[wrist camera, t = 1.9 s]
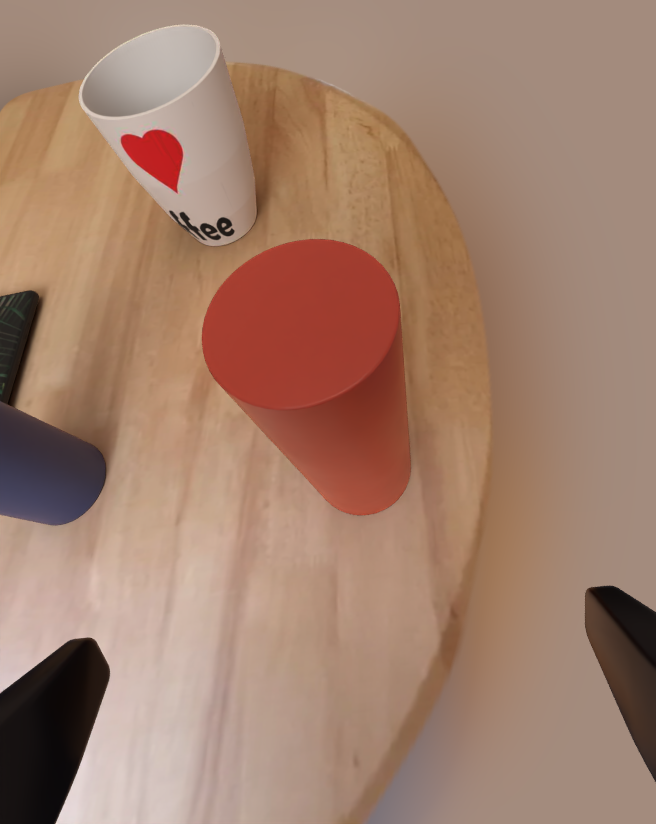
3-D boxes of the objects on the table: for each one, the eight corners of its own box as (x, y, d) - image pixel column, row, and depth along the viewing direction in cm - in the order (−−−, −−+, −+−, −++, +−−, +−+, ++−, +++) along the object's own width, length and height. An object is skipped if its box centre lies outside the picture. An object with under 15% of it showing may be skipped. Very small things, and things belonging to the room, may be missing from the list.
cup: (153, 241, 32) (50, 103, 23) (219, 170, 34) (147, 16, 25) (231, 277, 29) (148, 133, 20) (298, 196, 31) (250, 32, 22)
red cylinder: (392, 530, 21) (355, 437, 9) (299, 495, 22) (165, 378, 10) (423, 437, 22) (427, 253, 10) (335, 411, 24) (252, 226, 12)
